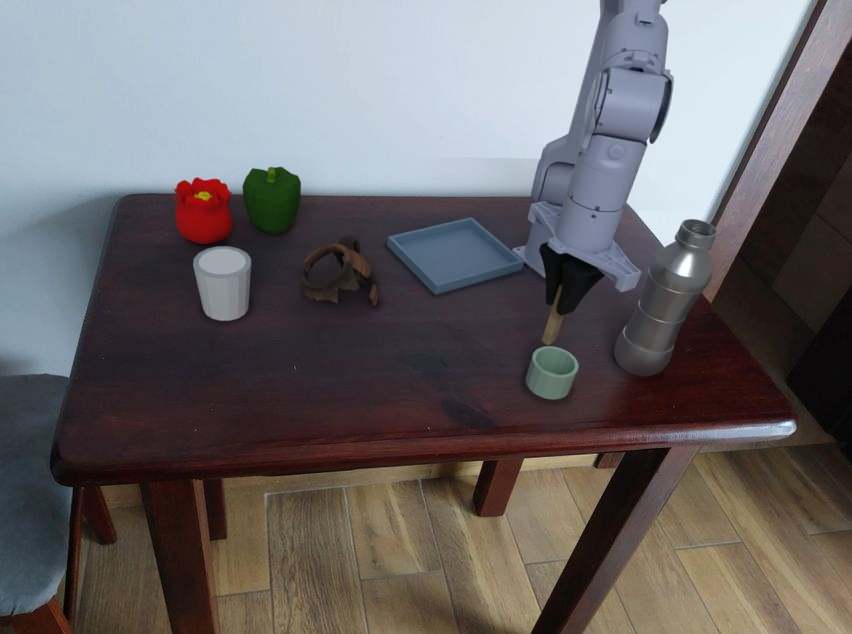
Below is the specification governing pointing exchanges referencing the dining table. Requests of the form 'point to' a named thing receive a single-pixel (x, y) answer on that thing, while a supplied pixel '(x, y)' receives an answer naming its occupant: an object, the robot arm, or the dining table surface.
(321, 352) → the dining table surface
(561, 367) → the espresso cup
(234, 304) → the shot glass
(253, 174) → the bell pepper
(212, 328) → the dining table surface
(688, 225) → the grey metal bottle
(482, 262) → the spoon tray
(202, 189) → the flower
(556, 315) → the stirrer
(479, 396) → the dining table surface
